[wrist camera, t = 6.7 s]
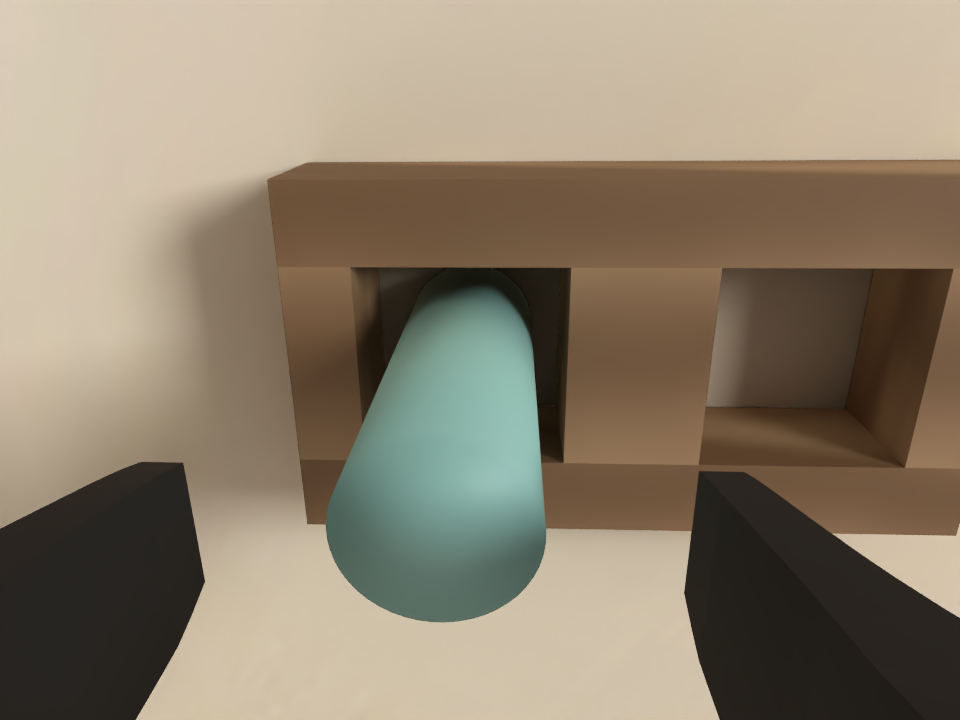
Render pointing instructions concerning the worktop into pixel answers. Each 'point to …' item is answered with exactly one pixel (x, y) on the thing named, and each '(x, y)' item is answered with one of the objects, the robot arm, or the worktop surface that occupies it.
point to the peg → (447, 459)
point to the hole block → (649, 323)
